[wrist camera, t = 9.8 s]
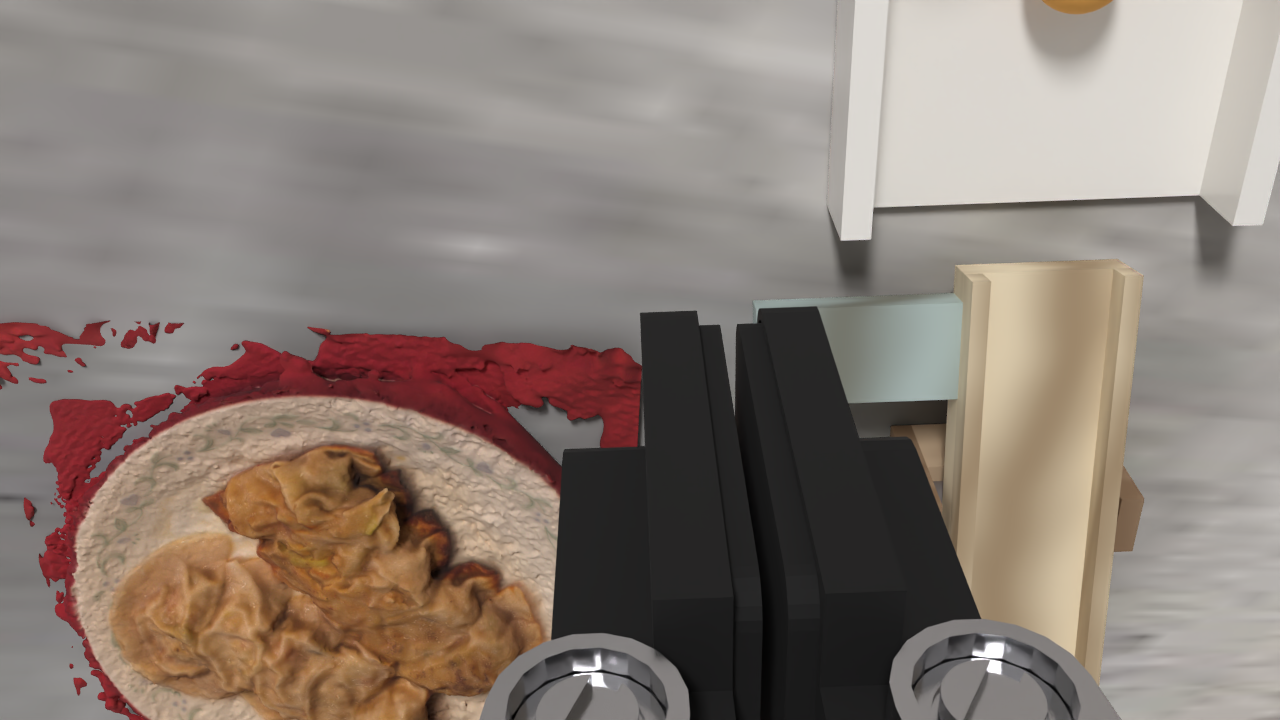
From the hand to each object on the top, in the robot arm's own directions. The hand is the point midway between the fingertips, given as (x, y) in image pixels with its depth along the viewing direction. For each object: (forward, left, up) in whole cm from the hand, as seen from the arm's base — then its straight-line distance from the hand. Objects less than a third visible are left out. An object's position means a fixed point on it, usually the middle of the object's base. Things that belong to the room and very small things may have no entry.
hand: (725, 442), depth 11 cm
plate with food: (+14, +28, -30) cm, 43 cm away
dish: (-13, +4, -29) cm, 32 cm away
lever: (-9, +21, -25) cm, 34 cm away
